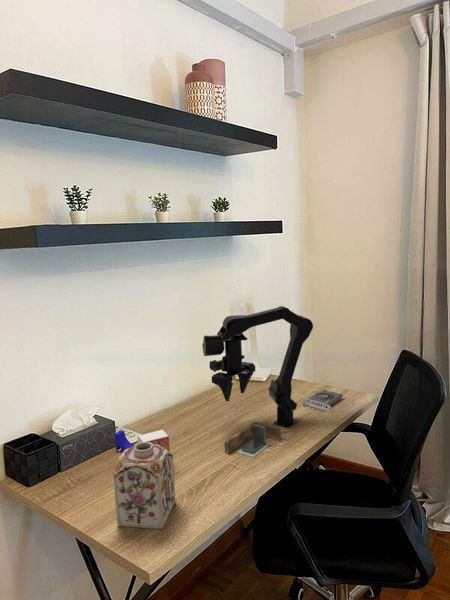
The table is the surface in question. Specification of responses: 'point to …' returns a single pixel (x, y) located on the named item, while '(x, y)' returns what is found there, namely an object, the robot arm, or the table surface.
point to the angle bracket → (256, 439)
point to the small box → (156, 439)
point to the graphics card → (322, 400)
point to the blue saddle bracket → (122, 441)
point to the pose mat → (254, 453)
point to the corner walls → (250, 436)
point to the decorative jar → (144, 486)
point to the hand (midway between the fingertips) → (235, 396)
